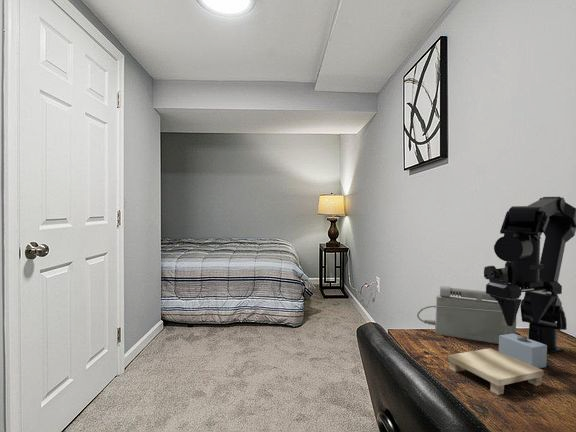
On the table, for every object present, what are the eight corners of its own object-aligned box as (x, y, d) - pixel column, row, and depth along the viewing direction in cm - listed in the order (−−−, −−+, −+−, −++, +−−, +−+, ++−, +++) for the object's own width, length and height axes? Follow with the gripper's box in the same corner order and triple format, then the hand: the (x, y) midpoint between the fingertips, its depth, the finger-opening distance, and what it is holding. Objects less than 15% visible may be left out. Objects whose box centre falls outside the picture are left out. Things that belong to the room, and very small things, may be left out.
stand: (489, 360, 81) (489, 348, 81) (543, 384, 70) (543, 370, 70) (448, 368, 76) (448, 355, 76) (498, 395, 65) (498, 380, 65)
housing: (498, 355, 84) (499, 332, 84) (512, 353, 86) (513, 330, 86) (531, 369, 77) (532, 344, 77) (546, 366, 78) (547, 341, 78)
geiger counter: (515, 291, 94) (418, 281, 105) (519, 296, 88) (417, 285, 99) (513, 341, 94) (417, 327, 105) (518, 349, 88) (415, 333, 99)
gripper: (518, 253, 92) (516, 311, 92) (467, 255, 85) (465, 317, 85) (564, 259, 82) (562, 324, 82) (510, 261, 75) (508, 332, 75)
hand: (522, 323), depth 81 cm, fingers open, 9 cm apart
